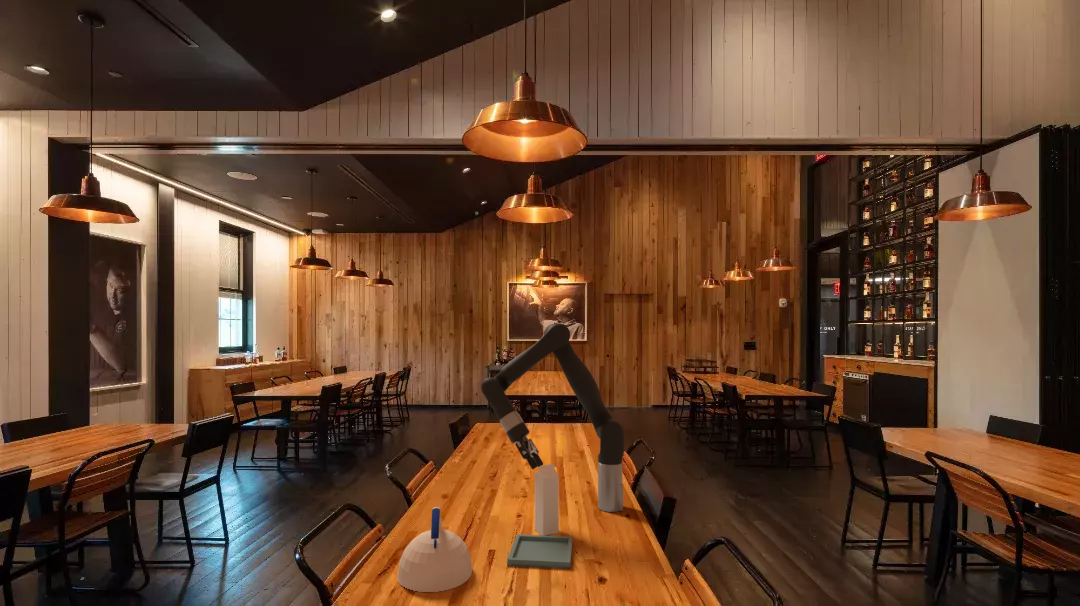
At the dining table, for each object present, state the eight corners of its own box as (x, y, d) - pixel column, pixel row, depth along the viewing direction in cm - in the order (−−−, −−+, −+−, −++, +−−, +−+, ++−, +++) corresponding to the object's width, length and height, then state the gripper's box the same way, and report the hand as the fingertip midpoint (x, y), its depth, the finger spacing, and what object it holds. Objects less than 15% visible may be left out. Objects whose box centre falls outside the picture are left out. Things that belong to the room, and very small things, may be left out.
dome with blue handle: (470, 555, 154) (471, 494, 155) (473, 590, 134) (474, 519, 134) (401, 560, 150) (402, 498, 151) (393, 597, 130) (394, 524, 131)
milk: (558, 533, 171) (559, 466, 172) (543, 536, 168) (543, 468, 169) (549, 526, 176) (550, 461, 177) (534, 530, 173) (534, 463, 174)
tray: (572, 542, 163) (572, 536, 163) (570, 568, 145) (570, 562, 145) (516, 540, 165) (516, 534, 165) (507, 565, 147) (507, 559, 147)
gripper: (517, 421, 177) (542, 462, 172) (528, 420, 191) (551, 459, 186) (499, 433, 178) (524, 475, 173) (511, 432, 191) (534, 470, 186)
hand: (538, 466), depth 179 cm, fingers open, 8 cm apart
